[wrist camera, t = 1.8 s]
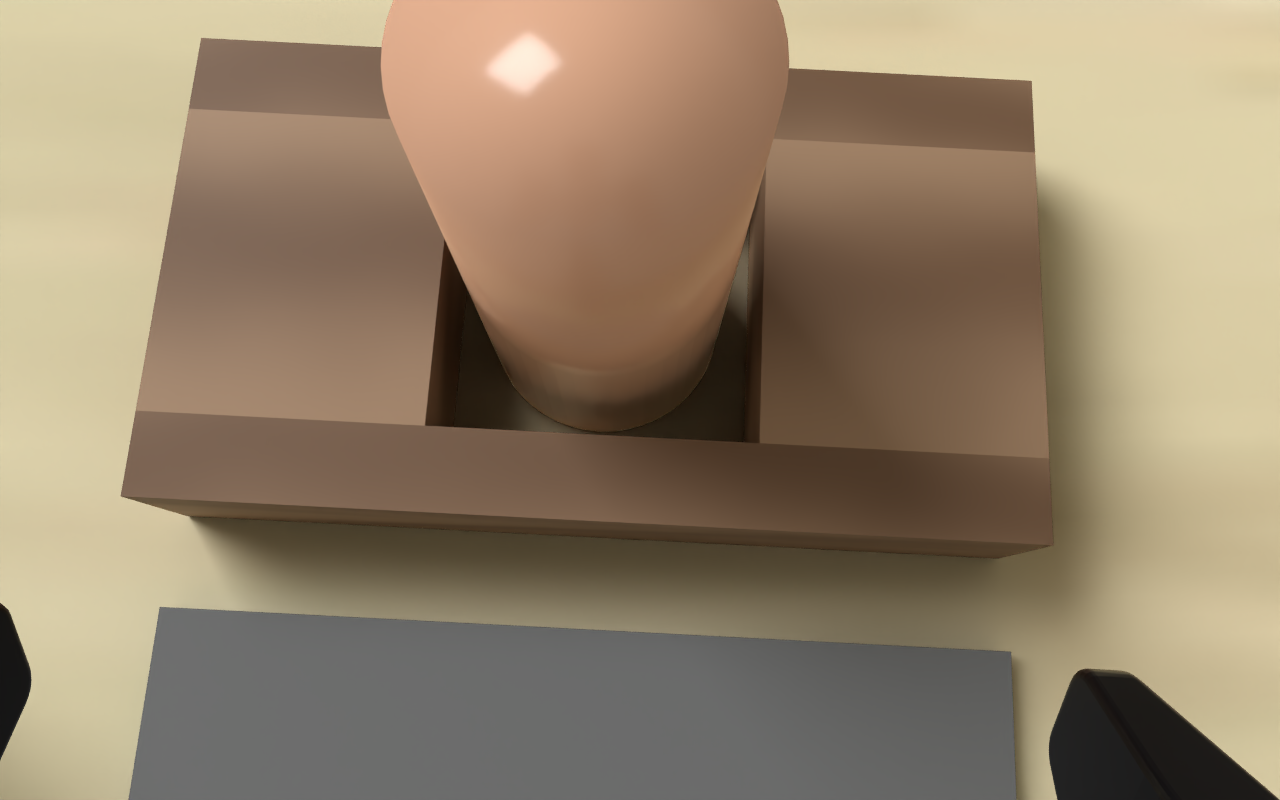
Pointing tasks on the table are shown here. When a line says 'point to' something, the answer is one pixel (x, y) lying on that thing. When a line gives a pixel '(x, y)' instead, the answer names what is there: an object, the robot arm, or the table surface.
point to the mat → (559, 714)
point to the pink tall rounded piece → (591, 180)
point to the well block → (586, 463)
